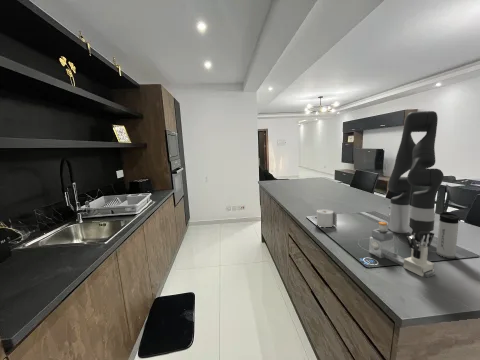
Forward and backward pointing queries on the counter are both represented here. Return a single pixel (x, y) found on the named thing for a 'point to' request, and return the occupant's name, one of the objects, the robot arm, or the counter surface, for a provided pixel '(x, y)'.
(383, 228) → the plunger
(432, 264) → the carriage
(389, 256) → the rail
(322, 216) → the toilet tissue
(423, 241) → the robot arm
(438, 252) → the travel mug
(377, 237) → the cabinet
